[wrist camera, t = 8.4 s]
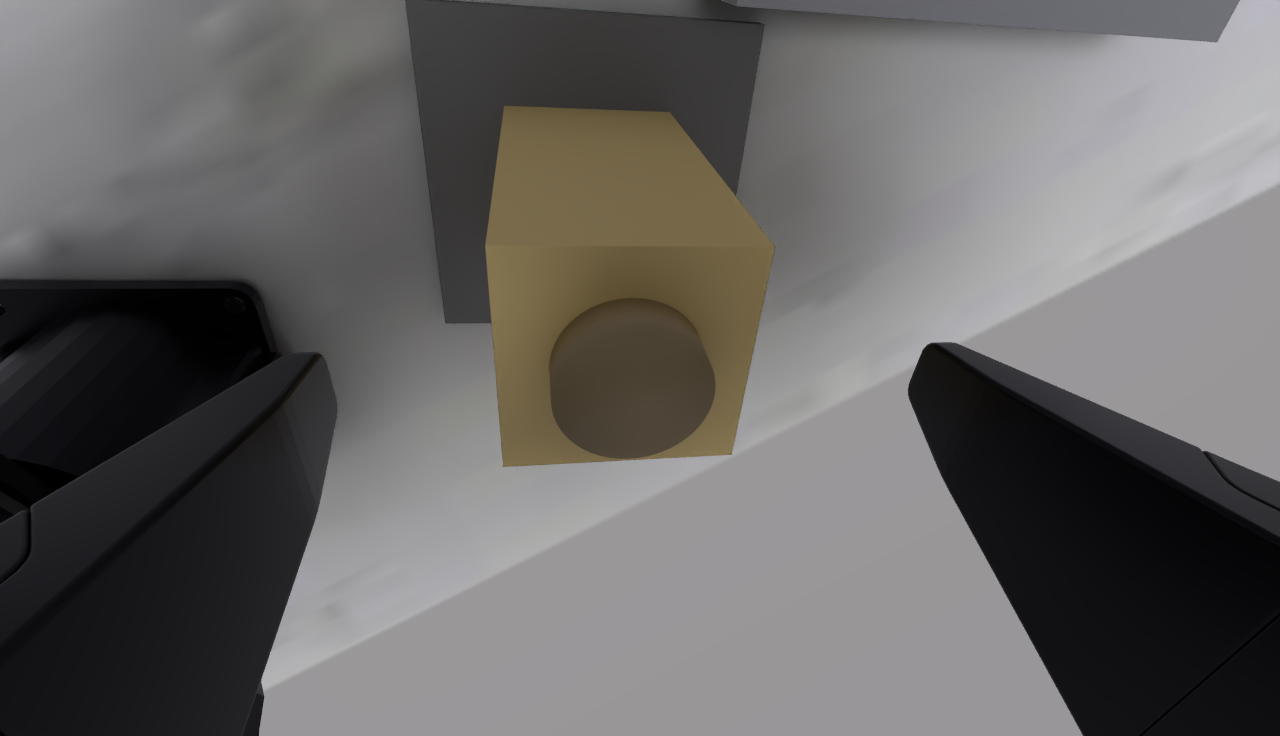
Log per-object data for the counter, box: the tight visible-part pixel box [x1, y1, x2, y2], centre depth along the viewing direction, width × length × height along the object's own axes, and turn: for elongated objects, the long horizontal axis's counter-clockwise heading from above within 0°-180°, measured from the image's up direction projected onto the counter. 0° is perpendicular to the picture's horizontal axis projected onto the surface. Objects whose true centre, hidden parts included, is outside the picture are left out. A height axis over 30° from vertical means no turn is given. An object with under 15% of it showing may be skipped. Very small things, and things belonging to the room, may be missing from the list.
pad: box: [405, 0, 764, 323], centre depth 16 cm, size 8×8×1 cm
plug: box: [485, 106, 775, 467], centre depth 12 cm, size 4×4×9 cm
